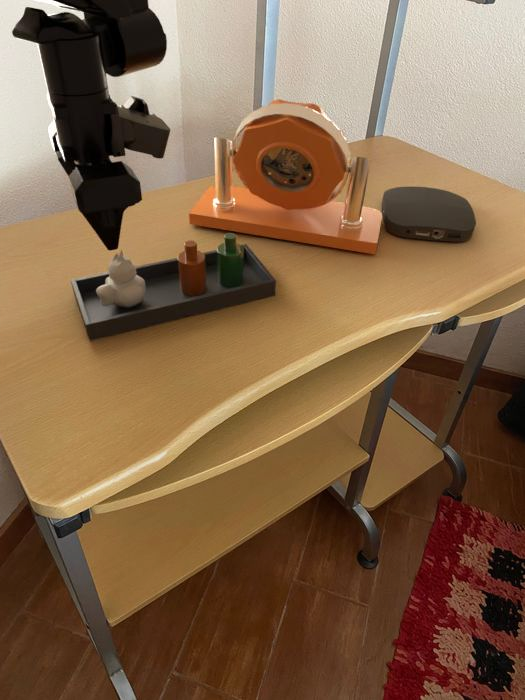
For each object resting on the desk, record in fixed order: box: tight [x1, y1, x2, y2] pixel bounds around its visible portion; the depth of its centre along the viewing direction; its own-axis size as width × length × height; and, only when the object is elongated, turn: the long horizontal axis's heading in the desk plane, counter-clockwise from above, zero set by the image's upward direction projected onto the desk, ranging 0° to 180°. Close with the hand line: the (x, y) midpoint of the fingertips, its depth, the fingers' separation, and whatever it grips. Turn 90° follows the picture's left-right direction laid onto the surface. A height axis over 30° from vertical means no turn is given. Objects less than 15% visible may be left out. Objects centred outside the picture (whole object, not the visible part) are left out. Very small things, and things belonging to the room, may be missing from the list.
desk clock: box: [188, 98, 383, 255], centre depth 80 cm, size 12×30×20 cm, turn 76°
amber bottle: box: [177, 240, 206, 296], centre depth 70 cm, size 4×4×7 cm
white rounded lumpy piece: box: [96, 248, 146, 308], centre depth 66 cm, size 5×7×8 cm
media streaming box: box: [381, 186, 477, 243], centre depth 89 cm, size 15×15×3 cm
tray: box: [70, 243, 277, 342], centre depth 71 cm, size 25×10×2 cm, turn 115°
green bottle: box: [216, 232, 244, 287], centre depth 72 cm, size 4×4×7 cm
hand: (104, 230), depth 62 cm, fingers open, 9 cm apart
